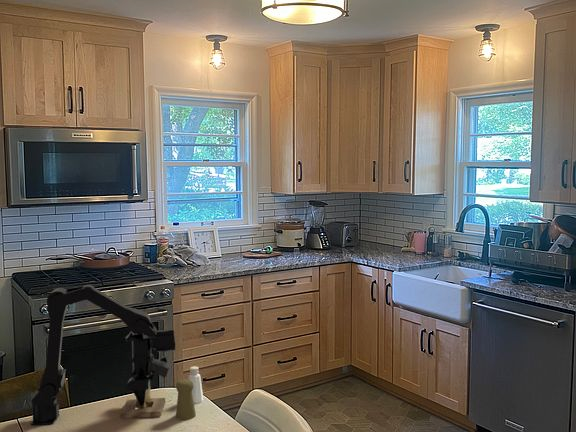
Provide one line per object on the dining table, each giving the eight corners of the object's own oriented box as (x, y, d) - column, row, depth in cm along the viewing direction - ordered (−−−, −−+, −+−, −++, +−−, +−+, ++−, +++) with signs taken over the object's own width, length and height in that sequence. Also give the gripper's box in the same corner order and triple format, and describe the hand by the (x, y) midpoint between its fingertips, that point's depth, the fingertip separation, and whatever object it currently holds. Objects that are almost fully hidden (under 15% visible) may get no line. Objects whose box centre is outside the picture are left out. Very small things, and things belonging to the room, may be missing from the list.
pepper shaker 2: (183, 402, 186) (182, 368, 185) (193, 396, 191) (192, 363, 190) (196, 404, 183) (195, 371, 183) (206, 399, 188) (206, 366, 188)
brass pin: (135, 409, 177) (134, 388, 177) (137, 403, 182) (137, 383, 181) (149, 408, 178) (149, 387, 177) (151, 403, 182) (151, 382, 182)
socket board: (120, 418, 174) (120, 413, 174) (127, 404, 185) (127, 399, 185) (160, 416, 175) (160, 411, 175) (165, 402, 186) (165, 397, 186)
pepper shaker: (191, 420, 171) (190, 384, 171) (172, 419, 173) (171, 383, 172) (198, 412, 177) (197, 377, 177) (180, 411, 179) (179, 376, 178)
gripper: (164, 361, 170) (165, 413, 171) (171, 343, 189) (172, 390, 190) (126, 363, 169) (127, 414, 170) (136, 345, 188) (138, 391, 189)
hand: (143, 402), depth 180 cm, fingers closed on brass pin, 4 cm apart
